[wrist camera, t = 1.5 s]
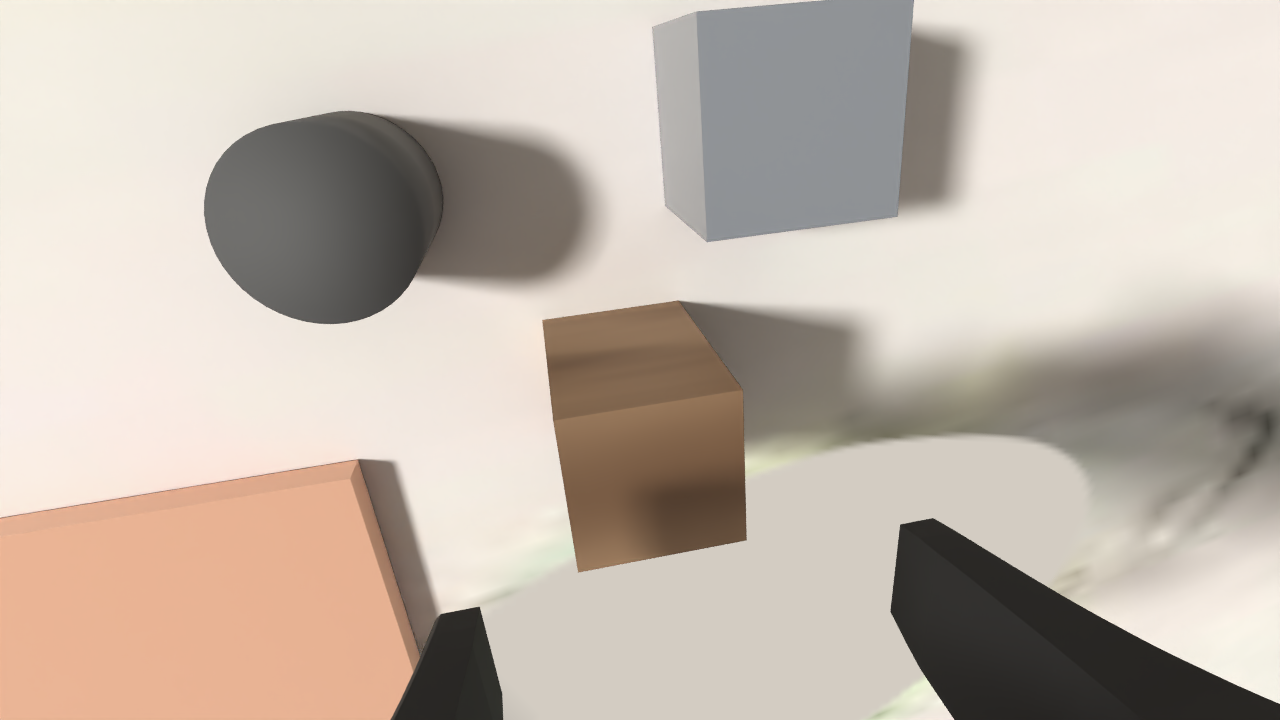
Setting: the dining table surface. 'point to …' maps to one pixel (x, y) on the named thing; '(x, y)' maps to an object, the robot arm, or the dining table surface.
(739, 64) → the grey cube
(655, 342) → the walnut block
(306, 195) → the rubber cylinder
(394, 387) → the dining table surface
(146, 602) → the terracotta tile
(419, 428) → the dining table surface
